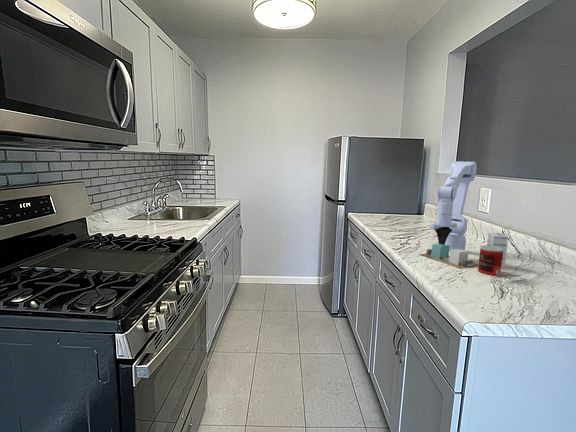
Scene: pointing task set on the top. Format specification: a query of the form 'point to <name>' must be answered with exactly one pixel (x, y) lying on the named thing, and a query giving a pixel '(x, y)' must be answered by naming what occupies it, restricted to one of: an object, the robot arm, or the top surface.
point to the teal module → (440, 250)
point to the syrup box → (499, 243)
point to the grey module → (458, 256)
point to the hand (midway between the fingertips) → (441, 244)
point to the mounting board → (446, 261)
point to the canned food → (490, 260)
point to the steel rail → (465, 263)
